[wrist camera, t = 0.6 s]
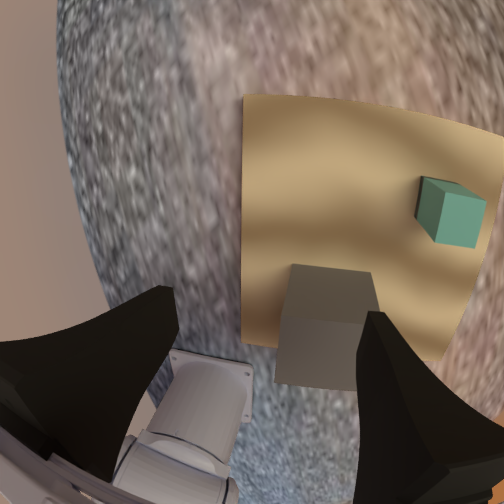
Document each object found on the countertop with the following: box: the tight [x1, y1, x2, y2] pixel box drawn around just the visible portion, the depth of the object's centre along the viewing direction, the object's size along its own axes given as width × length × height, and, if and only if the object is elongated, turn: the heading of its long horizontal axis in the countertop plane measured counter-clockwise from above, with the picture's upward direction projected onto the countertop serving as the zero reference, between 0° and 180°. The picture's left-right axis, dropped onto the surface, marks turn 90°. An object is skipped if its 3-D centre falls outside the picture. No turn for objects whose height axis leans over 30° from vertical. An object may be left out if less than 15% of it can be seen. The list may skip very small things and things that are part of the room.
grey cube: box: [274, 263, 380, 391], centre depth 18 cm, size 5×5×6 cm
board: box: [241, 94, 504, 361], centre depth 18 cm, size 18×17×1 cm
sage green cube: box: [414, 176, 487, 249], centre depth 14 cm, size 3×3×4 cm
